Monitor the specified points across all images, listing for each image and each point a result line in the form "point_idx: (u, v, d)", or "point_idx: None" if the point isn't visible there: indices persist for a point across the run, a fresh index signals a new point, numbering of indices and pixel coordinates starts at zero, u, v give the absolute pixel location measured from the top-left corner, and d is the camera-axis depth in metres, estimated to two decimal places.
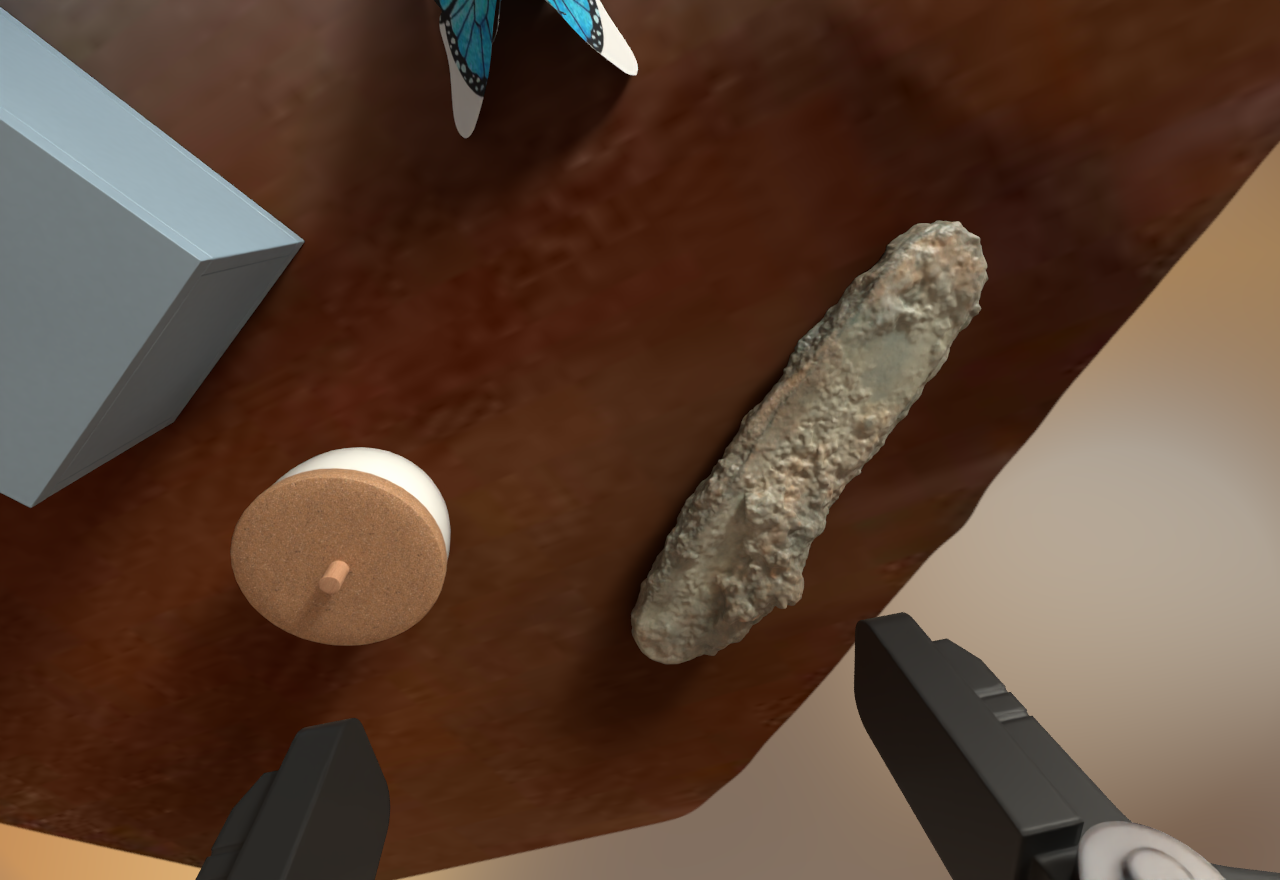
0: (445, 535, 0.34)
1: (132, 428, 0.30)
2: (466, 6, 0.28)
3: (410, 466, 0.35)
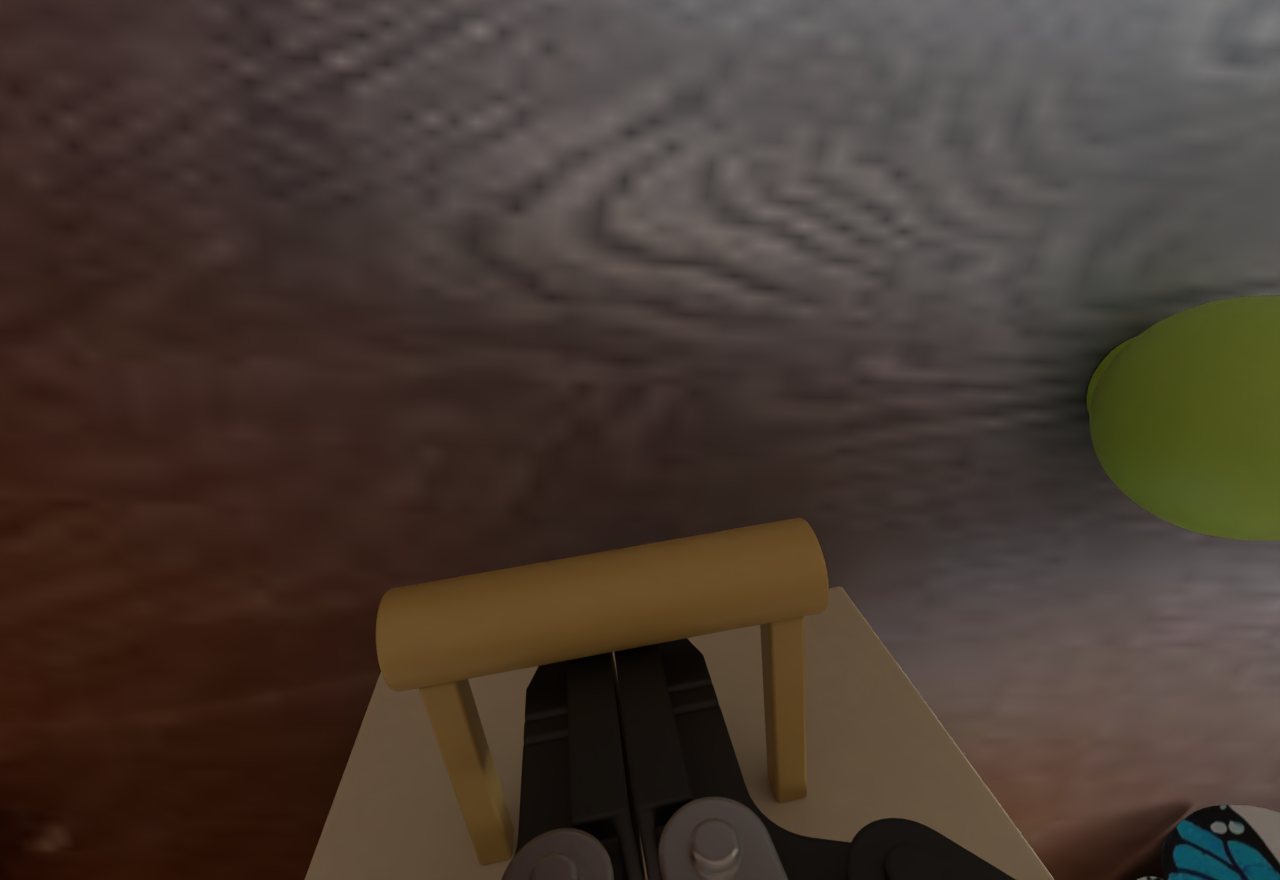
0: None
1: None
2: None
3: None
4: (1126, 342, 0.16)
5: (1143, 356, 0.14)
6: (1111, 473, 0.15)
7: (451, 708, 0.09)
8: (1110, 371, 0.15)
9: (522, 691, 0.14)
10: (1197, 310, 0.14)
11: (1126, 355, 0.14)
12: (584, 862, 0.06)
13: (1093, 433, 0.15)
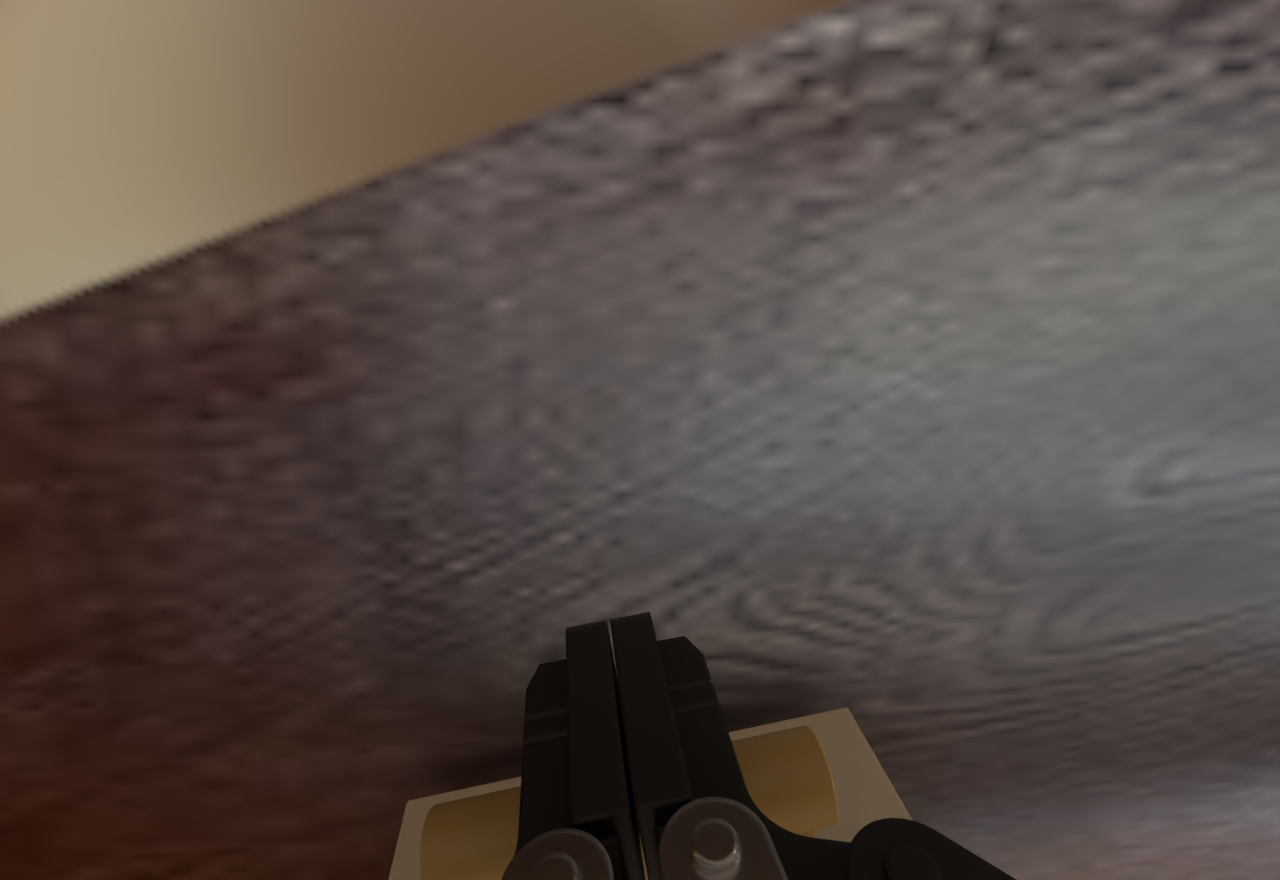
0: None
1: None
2: None
3: None
4: None
5: None
6: None
7: None
8: None
9: None
10: None
11: None
12: (584, 862, 0.06)
13: None
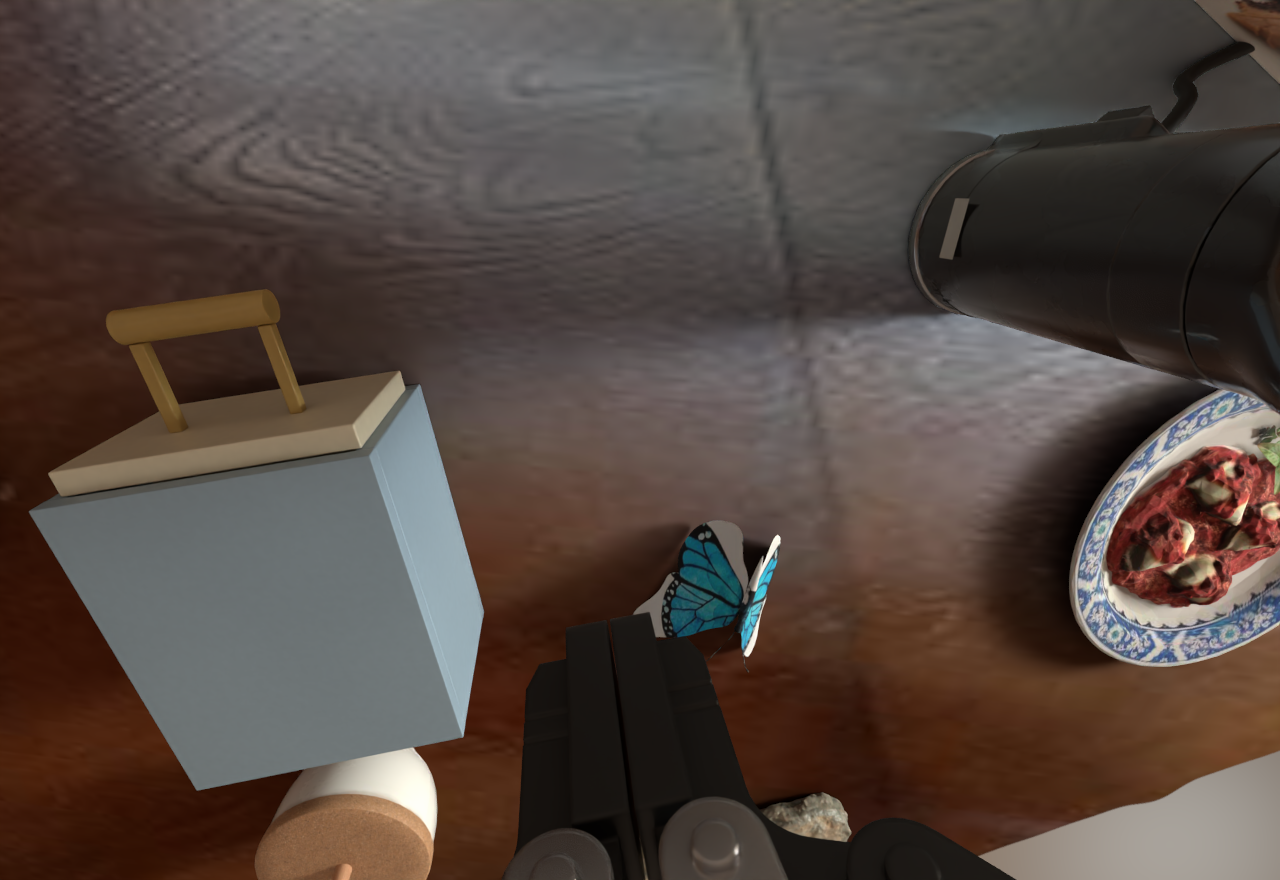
0: None
1: None
2: (696, 598, 0.41)
3: (434, 790, 0.43)
4: None
5: None
6: None
7: (142, 355, 0.27)
8: None
9: (224, 404, 0.32)
10: None
11: None
12: (584, 862, 0.06)
13: None
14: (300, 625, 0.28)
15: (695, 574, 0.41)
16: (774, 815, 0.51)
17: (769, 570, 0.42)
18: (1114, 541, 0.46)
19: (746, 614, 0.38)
